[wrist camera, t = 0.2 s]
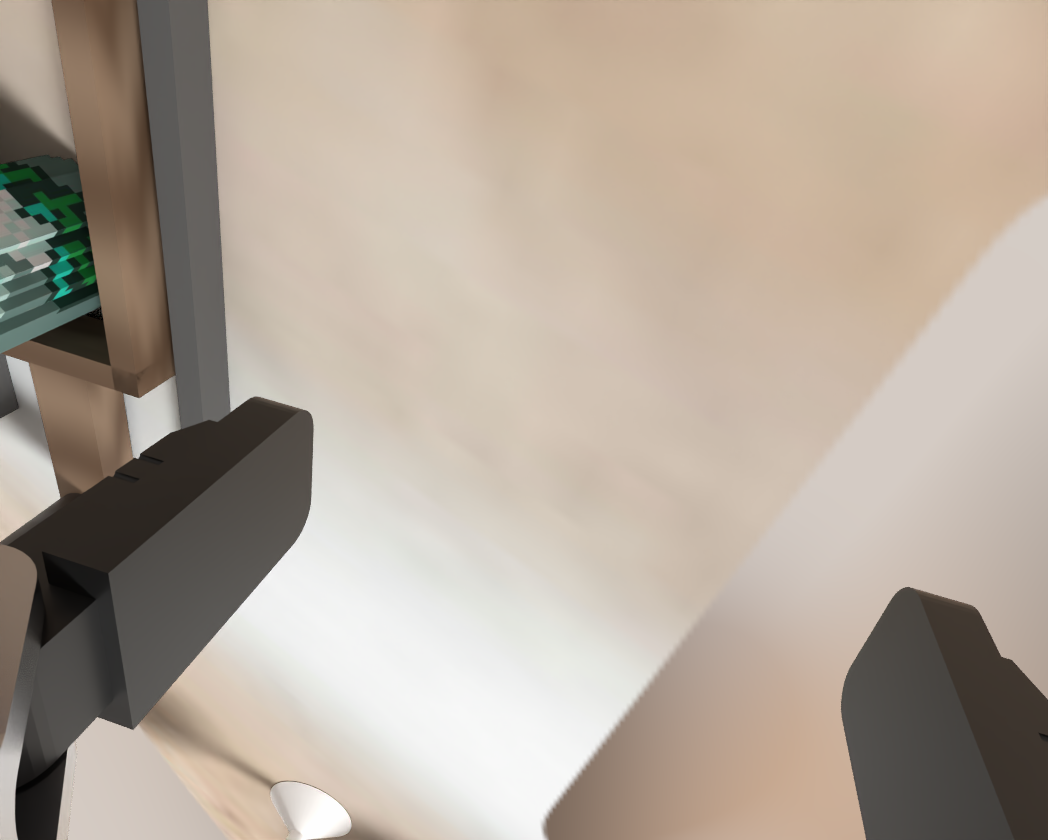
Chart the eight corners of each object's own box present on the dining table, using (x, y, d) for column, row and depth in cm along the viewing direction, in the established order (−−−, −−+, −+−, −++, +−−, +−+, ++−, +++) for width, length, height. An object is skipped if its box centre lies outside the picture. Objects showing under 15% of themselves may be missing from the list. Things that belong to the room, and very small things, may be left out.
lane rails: (-248, -507, 20) (-336, -553, 19) (182, -437, 19) (128, -481, 17) (-1, 401, 38) (-35, 420, 36) (234, 480, 36) (209, 502, 34)
